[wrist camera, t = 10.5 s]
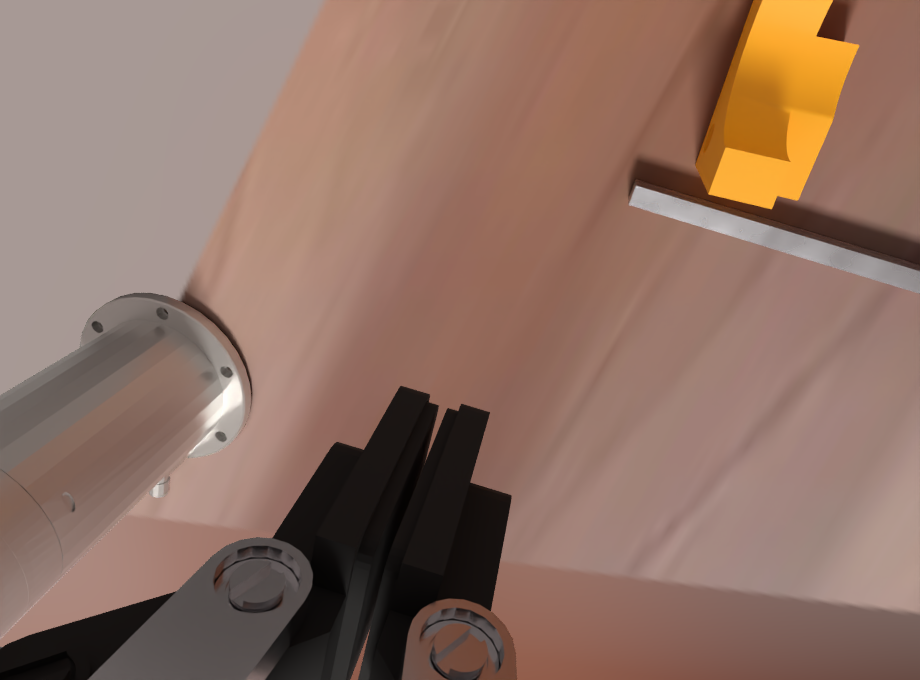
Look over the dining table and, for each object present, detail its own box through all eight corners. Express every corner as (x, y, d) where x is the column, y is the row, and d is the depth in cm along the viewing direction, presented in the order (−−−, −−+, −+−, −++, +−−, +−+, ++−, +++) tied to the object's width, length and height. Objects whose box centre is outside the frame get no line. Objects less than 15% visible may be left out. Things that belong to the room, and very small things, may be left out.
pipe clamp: (783, 184, 32) (815, 219, 27) (694, 164, 33) (708, 194, 27) (904, -104, 27) (978, -137, 21) (795, -123, 27) (839, -161, 21)
